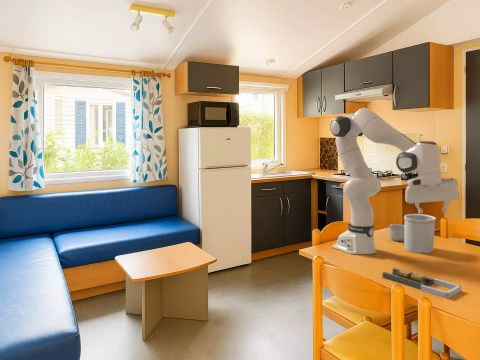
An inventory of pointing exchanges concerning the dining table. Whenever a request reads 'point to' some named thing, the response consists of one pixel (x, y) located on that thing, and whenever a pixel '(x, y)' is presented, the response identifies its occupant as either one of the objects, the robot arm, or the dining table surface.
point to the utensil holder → (419, 233)
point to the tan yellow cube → (405, 274)
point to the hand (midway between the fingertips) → (432, 212)
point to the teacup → (396, 232)
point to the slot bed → (406, 281)
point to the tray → (448, 294)
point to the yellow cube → (419, 278)
